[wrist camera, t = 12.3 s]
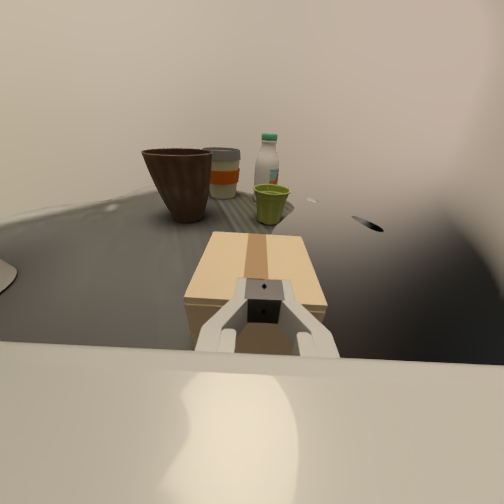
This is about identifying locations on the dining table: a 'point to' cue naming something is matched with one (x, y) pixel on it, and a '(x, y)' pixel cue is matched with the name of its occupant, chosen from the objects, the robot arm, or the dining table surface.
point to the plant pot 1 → (181, 180)
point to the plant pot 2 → (270, 202)
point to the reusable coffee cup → (224, 172)
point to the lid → (253, 268)
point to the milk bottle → (267, 162)
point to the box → (245, 332)
